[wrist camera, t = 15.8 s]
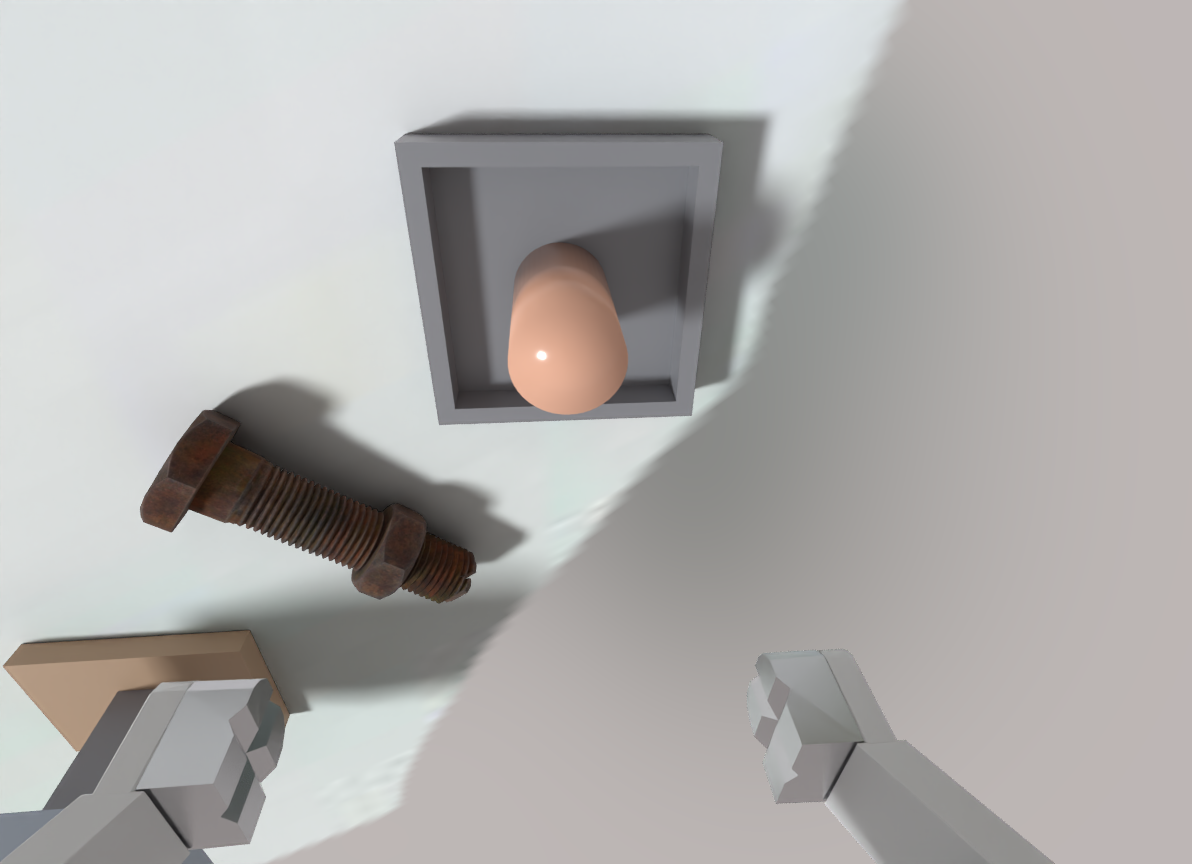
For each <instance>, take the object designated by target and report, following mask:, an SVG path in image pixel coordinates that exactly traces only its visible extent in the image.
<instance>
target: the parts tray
mask: <svg viewBox="0 0 1192 864" xmlns="http://www.w3.org/2000/svg"><path fill="white" fill-rule="evenodd" d="M394 144H395V150H396V157H397V163H398V169H399V175H400V182H401V188H402V194H403V201H404V207H405V213H406V220H407V226H408V232H409V238H410V245H411V251H412V257H413V264H414V270H415V276H416V283H417V289H418V295H419V301H420V308H421V314H422V320H423V327H424V333H425V339H426V346H427V352H428V358H429V364H430V371H431V377H432V383H433V390H434V396H435V402H436V409H437V415H438V421H439V425H450V424H478V423H505V422H533V421H560V420H587V419H615V418H642V417H670V416H692V408H693V399H694V391H695V382H696V374H697V365H698V356H699V348H700V339H701V331H702V322H703V314H704V305H705V296H706V288H707V279H708V271H709V262H710V254H711V245H712V236H713V228H714V219H715V211H716V202H717V194H718V185H719V177H720V168H721V159H722V151H723V142H722V141H720V140H719V139H717V138H715V137H713V136H712V135H710V134H405V135H403V136H402V137H401V138H399V139H398V140H397V141H395V142H394ZM559 242H561V243H570V244H574V245H577V246H580V247H582V248H584V249H585V250H587V251H588V252H590V253H591V254H592V255H593V256H594V257H595V258H596V259H597V260H598V262H599V263H600V265H601V266H602V268H603V270H604V273H605V276H606V279H607V283H608V286H609V290H610V293H611V296H612V300H613V303H614V306H615V310H616V313H617V317H618V320H619V323H620V327H621V330H622V333H623V337H624V340H625V344H626V347H627V352H628V367H627V372H626V376H625V378H624V380H623V382H622V384H621V386H620V388H619V389H618V390H617V392H616V393H615V394H614V395H613V396H612V397H611V398H610V399H609V400H608V401H606V402H605V403H604V404H602V405H600V406H599V407H597V408H595V409H592V410H590V411H587V412H584V413H579V414H570V415H564V414H555V413H551V412H547V411H544V410H541V409H539V408H537V407H535V406H534V405H532V404H531V403H529V402H528V401H527V400H526V399H524V398H523V397H522V396H521V394H520V393H519V392H518V391H517V389H516V388H515V386H514V384H513V382H512V380H511V378H510V374H509V370H508V349H509V337H510V325H511V313H512V301H513V289H514V280H515V276H516V272H517V270H518V268H519V266H520V264H521V263H522V261H523V260H524V259H525V258H526V257H527V256H528V255H529V254H530V253H531V252H532V251H534V250H535V249H537V248H539V247H541V246H544V245H547V244H551V243H559Z"/></svg>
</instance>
